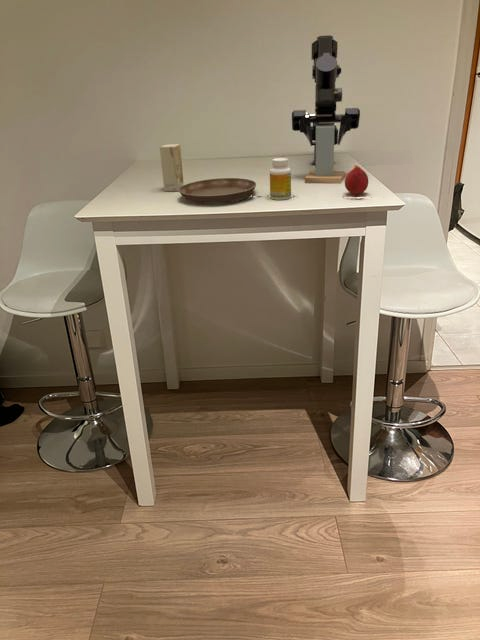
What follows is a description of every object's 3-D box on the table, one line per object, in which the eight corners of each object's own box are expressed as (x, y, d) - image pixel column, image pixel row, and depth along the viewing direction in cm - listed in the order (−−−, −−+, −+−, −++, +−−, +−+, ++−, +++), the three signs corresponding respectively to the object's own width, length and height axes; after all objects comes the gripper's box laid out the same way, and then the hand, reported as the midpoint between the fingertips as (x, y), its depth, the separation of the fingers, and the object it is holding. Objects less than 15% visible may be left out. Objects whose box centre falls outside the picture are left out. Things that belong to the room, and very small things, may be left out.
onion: (367, 194, 134) (369, 162, 131) (367, 199, 129) (369, 166, 126) (344, 194, 136) (345, 162, 132) (343, 199, 131) (345, 166, 127)
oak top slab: (310, 176, 156) (310, 171, 155) (344, 176, 153) (344, 171, 153) (304, 183, 147) (304, 178, 147) (340, 183, 145) (340, 178, 144)
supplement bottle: (289, 200, 133) (289, 160, 128) (268, 200, 134) (267, 161, 129) (292, 195, 137) (292, 157, 133) (271, 195, 138) (271, 157, 134)
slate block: (315, 173, 152) (315, 125, 146) (332, 172, 152) (334, 125, 146) (315, 176, 148) (315, 127, 142) (333, 175, 147) (334, 127, 141)
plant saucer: (173, 209, 131) (172, 195, 130) (185, 190, 150) (184, 179, 148) (255, 206, 130) (255, 192, 129) (257, 188, 148) (256, 176, 147)
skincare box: (178, 191, 148) (174, 146, 143) (163, 191, 149) (158, 147, 144) (184, 186, 154) (180, 143, 149) (170, 186, 155) (166, 143, 149)
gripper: (291, 79, 143) (290, 126, 138) (361, 75, 141) (362, 123, 136) (292, 107, 154) (291, 152, 149) (357, 104, 151) (358, 150, 146)
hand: (325, 144), depth 145 cm, fingers open, 7 cm apart
